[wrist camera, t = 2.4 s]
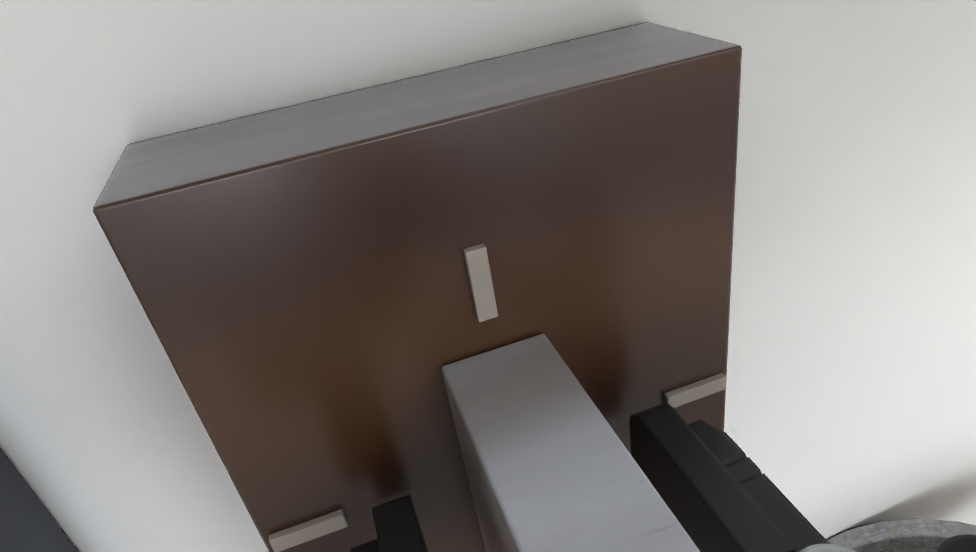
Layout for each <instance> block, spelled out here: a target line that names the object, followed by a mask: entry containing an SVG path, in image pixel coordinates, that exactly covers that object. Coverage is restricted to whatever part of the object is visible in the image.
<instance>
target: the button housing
mask: <svg viewBox="0 0 976 552" xmlns="http://www.w3.org/2000/svg"><path fill="white" fill-rule="evenodd" d="M0 552H78V551H77V549H76V548H75V547H74V545H73V544H72V543H71V541H70V540H69V539H68V537H67V536H66V535H65V533H64V532H63V531H62V529H61V528H60V527H59V525H58V524H57V523H56V521H55V520H54V519H53V517H52V516H51V515H50V513H49V512H48V511H47V510H46V508H45V507H44V506H43V504H42V503H41V502H40V500H39V499H38V498H37V496H36V495H35V494H34V492H33V491H32V490H31V488H30V487H29V486H28V484H27V483H26V482H25V480H24V479H23V478H22V476H21V475H20V474H19V472H18V471H17V470H16V469H15V467H14V466H13V465H12V463H11V462H10V461H9V459H8V458H7V457H6V455H5V454H4V453H3V451H2V450H1V449H0Z"/></svg>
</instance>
